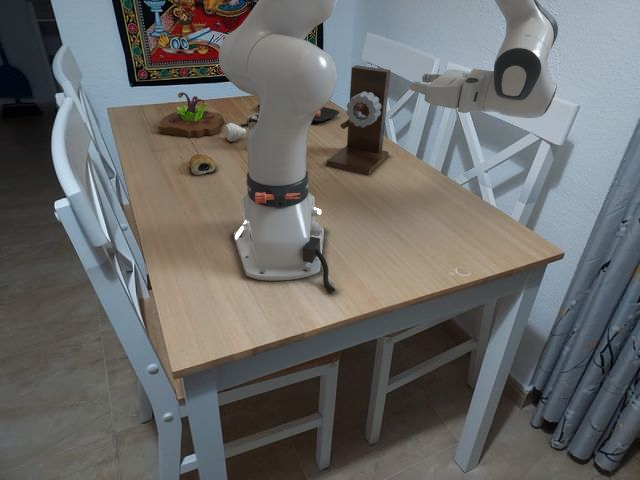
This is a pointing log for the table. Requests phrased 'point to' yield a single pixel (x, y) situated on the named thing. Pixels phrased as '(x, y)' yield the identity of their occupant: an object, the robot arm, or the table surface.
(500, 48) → the robot arm
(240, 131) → the white cream swirl
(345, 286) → the table surface
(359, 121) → the grey knurled ring
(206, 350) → the table surface
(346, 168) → the stand
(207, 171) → the pastry
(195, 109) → the plant
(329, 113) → the sushi plate
